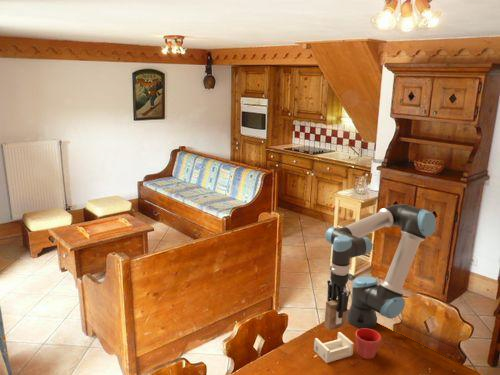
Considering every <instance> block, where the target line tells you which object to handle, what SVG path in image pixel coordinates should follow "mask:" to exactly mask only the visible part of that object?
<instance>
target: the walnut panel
mask: <svg viewBox="0 0 500 375" xmlns="http://www.w3.org/2000/svg"><path fill="white" fill-rule="evenodd" d="M336 310H338V298H337V300H332V301H326V302H325V312H324V324H323V325H324V328H326V330H328V331H332V330H337V329H341V328H344V327H346V326H347V312H348V310H347V311H345V312H343V317H342V322H341V324H337V325H336V324H335V322H336Z"/></svg>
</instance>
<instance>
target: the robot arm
mask: <svg viewBox="0 0 500 375" xmlns="http://www.w3.org/2000/svg"><path fill="white" fill-rule="evenodd" d="M391 227H399V228H400V233H401V237H400V240H399V242H398V246H397V247H396V251H395V254H394V255H393V258H392V261H391V262H390V263H391V264H390V265H389V268H388V271H387V273H386V276H385V278H384V280H383V281H382V282H380V283H379V282H378V279H376V278H375V277H372V276H364V275H363V276H358V277H356V278H354V280H353V284H352V290H351V291H352V293H351V292H350V291H348V290H347V283H348V281H349V273H350V264H351V263H350V262H351V259H352V258H356V257H360V256H365V255H367V254H370V253H371V252H372V250H373V242H372V240H371V239H370V238H369V237H367V236H368V235H370V234H371V233H374V232H376V231H378V230H380V229H383V228H391ZM436 227H437V220H436V217H435V214H434V213H433V212H432V211H429V210H427V209H424V208H420V207H417V206H413V205H410V204H406V203H397V204H391V205H389V206H386V207H383V208H380V209H379V210H378V211H377V213H374V214H372V215H371V214H370V215H369V216H367V217H364V218H362V219H360V220H357V221H355V222H351V223H350V224H347V225H344V226H343V227H339V228H337V227H334V226H333V227H329V228H328V229H327V230H326V232H325V240H326V242H328V243H329V244H331V246H332V253H331V254H332V256H331V268H330V276H329V278H330V279H329V280H327V296H326V297H327V299H326V302H328V301H332V300H337V299H338V310H336V322H335V324H336V325H337V324H341V322H342V317H343V312H345V311H347V317H346V322H348V323H349V324H351V325H352V326H354V327H356V328H359V329H362V328H368V329H372V328H374V327H376V326H377V323H378V316H377V313H378V314H380V315H381V317H385V318H387V319H389V320H390V319H395V318H397V317H398V316H399V315H400V314H401V313H402V312H403V310H404V308H405V306H406V301H405V299H404V298H403V296H404V291H403V286H404V285H405V281H406V279H407V276H408V275H409V271H410V269H411V267H412V264H413V261H414V260H415V256H416V255H417V254H416V253H417V252H418V249H419V246H420V244H421V242H423V241H425V240H426V238H427V237H431V236H432V235H433V234H434V232H435V230H436ZM350 295H351V305H350V306H349V309H348V305H349V304H348V303H349V298H350Z"/></svg>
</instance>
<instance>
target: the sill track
mask: <svg viewBox="0 0 500 375" xmlns="http://www.w3.org/2000/svg"><path fill="white" fill-rule="evenodd" d="M354 345H355V343H354V342H353V341H352V340H350V338H348V337H347V336H346V335H345V334H343V333H342V332H341V331H338V332H337V339H335V340H331V341H326V342H322V341H321V340H320V339H319V338H317V337H315V338H314V345H313V351H314V352H315V353H316V354H317V355H318V356H319V357H320V358H321V359H322V360H323V361H324V362H325V363H326V364H328V363H331V362H334V361H338V360H342V359H345V358H348V357H351V356H353V355H354V347H355V346H354Z"/></svg>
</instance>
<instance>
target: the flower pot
mask: <svg viewBox="0 0 500 375" xmlns="http://www.w3.org/2000/svg"><path fill="white" fill-rule="evenodd" d="M381 336H382V335H381V334H380V333H379V332H378V331H376V330H374V329H372V328H359V329H357V330H356V331H355V341H356V342H355V343H356V351H357V355H358V356H359V357H361V358H363V359H366V360H367V359H369V360H370V359H374V358H375V357H376V354H377V351H378V348H379V345H380V342H381V339H382V337H381Z"/></svg>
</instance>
